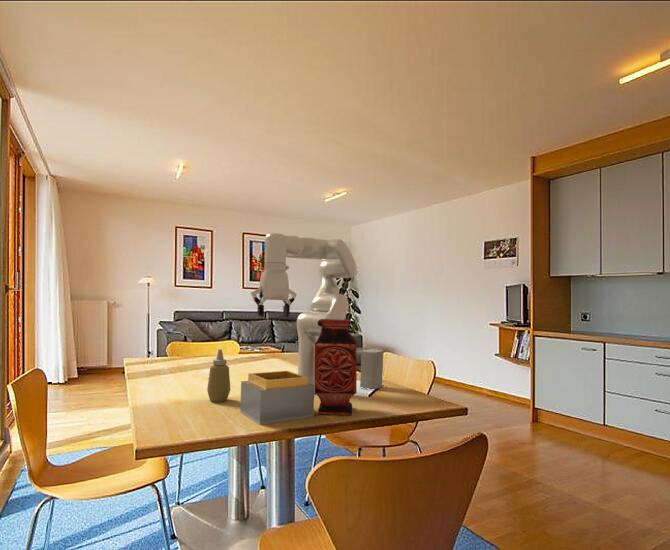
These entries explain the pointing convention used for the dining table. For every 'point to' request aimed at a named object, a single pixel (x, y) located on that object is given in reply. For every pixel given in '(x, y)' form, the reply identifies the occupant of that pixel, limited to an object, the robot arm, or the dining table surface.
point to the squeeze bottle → (219, 379)
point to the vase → (335, 367)
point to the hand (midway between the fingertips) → (273, 316)
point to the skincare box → (371, 368)
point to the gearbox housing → (276, 397)
